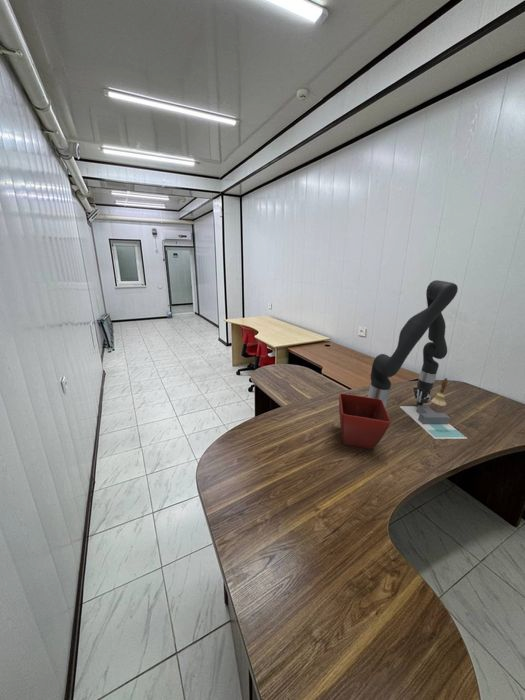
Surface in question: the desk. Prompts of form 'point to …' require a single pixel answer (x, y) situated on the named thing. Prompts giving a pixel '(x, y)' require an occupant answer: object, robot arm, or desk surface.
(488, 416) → the desk surface
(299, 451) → the desk surface
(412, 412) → the runner mat
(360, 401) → the plant pot
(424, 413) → the t block
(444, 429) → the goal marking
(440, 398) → the hand bell
